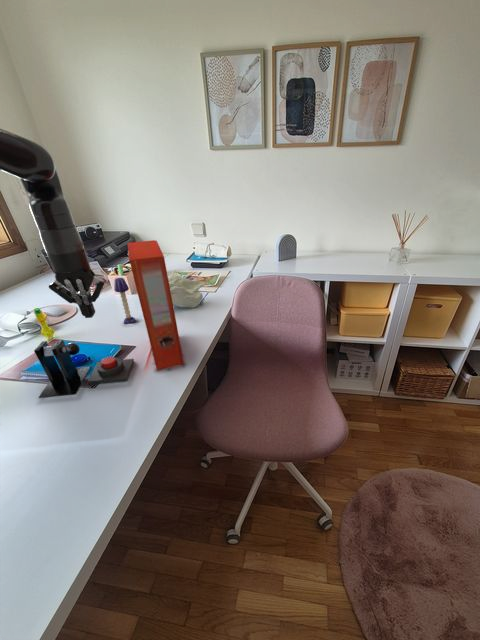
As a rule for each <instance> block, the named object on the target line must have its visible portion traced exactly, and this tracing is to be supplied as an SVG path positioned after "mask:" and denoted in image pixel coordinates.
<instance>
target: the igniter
mask: <svg viewBox="0 0 480 640" xmlns="http://www.w3.org/2000/svg"><path fill="white" fill-rule="evenodd" d="M115 358H116V357H114V356H106V357H104V358H102V359H101V360H100V362H101V364H102V367H103V368H104V369H110V368H113V367H115V366H116V365H117V363H116V360H115Z"/></svg>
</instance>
